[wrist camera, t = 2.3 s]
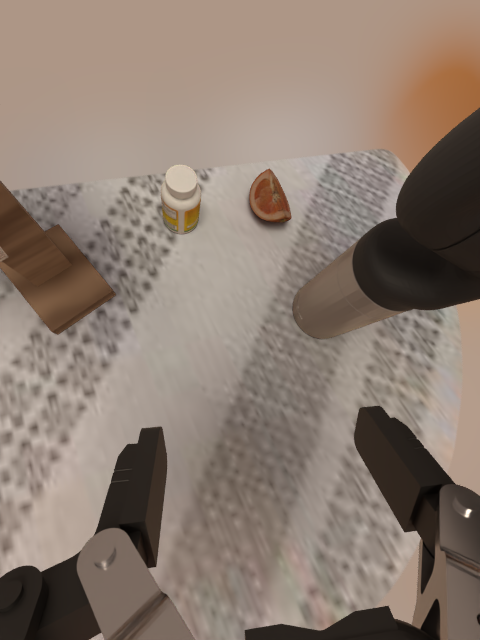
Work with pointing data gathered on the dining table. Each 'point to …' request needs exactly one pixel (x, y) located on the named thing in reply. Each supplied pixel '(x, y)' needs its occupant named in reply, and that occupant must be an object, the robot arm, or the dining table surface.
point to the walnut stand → (48, 268)
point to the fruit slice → (269, 198)
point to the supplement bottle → (180, 199)
